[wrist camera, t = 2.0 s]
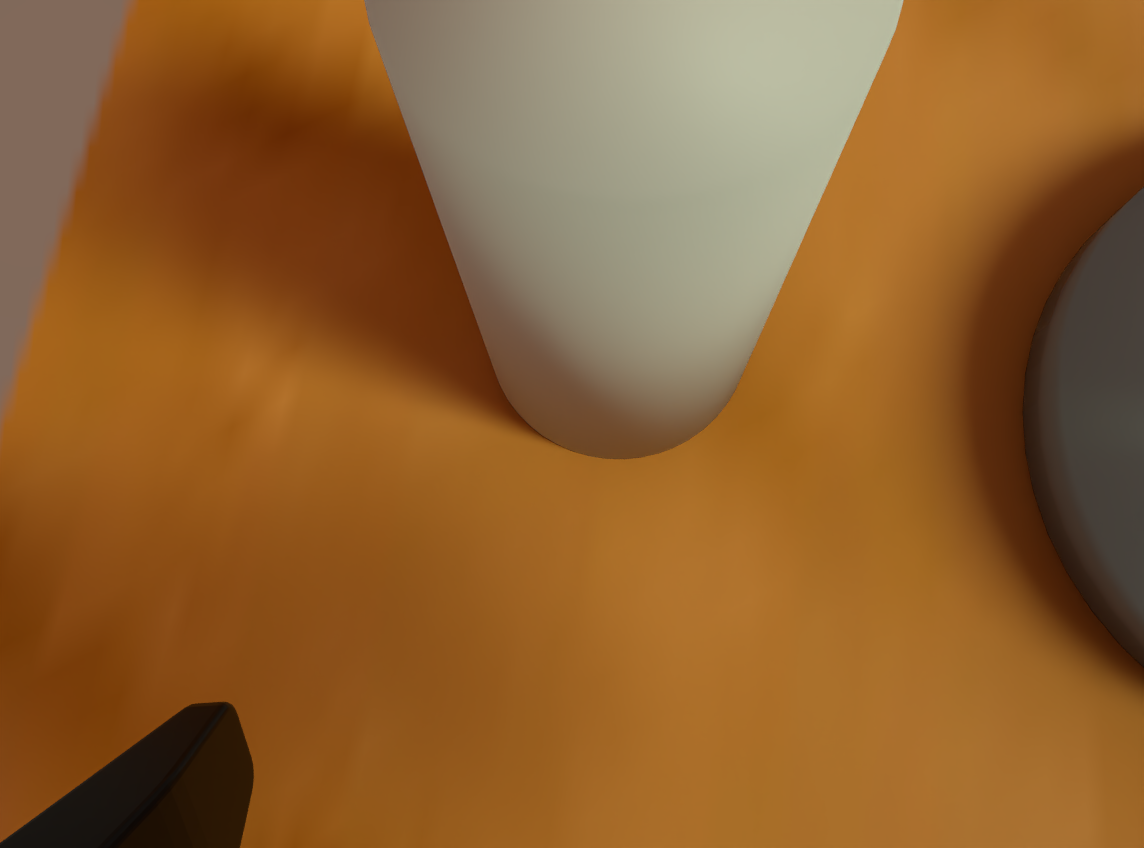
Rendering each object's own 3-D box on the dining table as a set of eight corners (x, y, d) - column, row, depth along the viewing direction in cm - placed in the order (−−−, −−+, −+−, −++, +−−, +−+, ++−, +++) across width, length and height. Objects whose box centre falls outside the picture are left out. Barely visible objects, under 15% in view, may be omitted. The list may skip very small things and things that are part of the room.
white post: (625, 513, 23) (650, 313, 10) (435, 339, 24) (250, -33, 12) (802, 325, 24) (1020, -70, 11) (611, 165, 25) (616, -355, 12)
